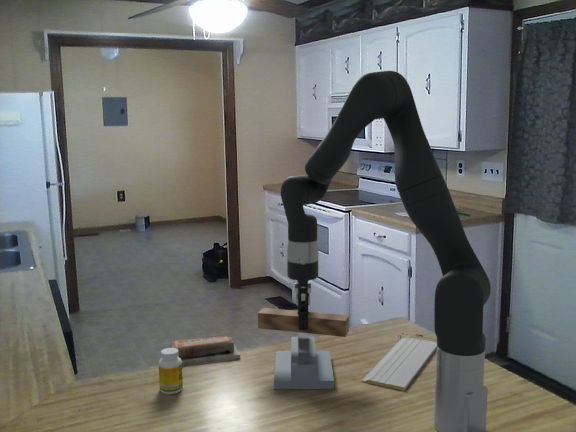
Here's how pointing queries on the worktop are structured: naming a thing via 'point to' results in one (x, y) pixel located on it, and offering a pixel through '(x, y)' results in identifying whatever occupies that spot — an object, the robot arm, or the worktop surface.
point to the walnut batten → (316, 322)
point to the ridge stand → (303, 366)
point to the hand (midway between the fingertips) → (303, 325)
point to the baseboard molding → (401, 363)
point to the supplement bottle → (170, 371)
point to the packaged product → (206, 350)
